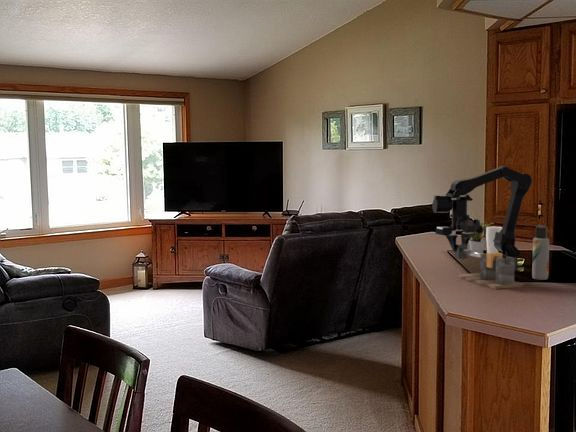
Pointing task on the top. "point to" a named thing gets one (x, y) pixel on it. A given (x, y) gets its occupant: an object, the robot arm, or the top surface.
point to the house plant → (477, 241)
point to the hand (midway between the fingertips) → (459, 251)
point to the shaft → (466, 252)
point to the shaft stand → (494, 274)
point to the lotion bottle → (540, 254)
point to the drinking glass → (491, 238)
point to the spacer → (490, 258)
